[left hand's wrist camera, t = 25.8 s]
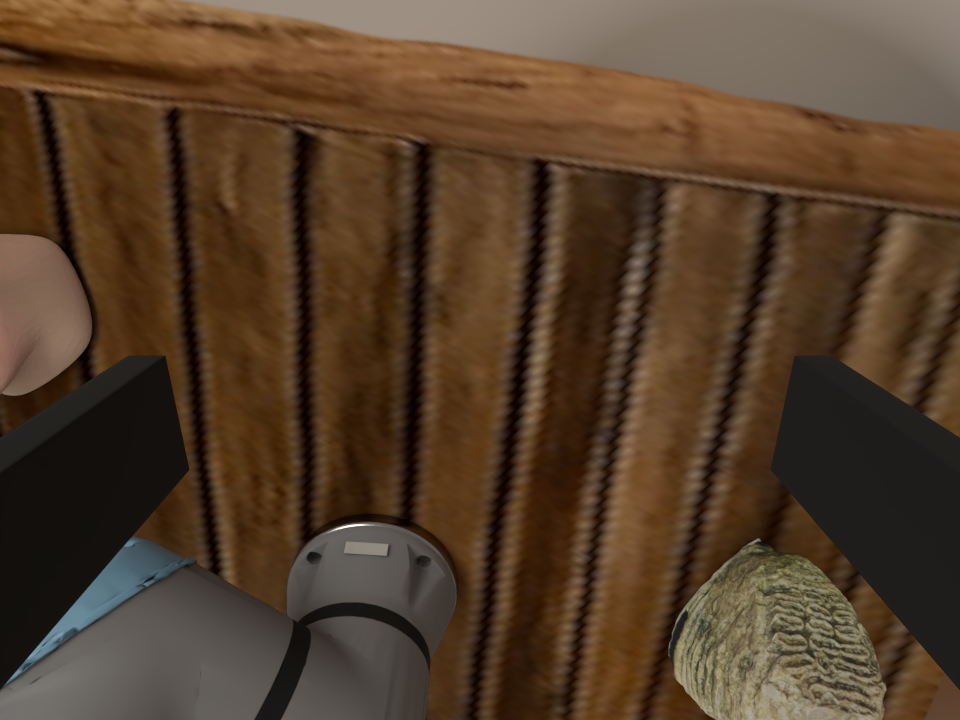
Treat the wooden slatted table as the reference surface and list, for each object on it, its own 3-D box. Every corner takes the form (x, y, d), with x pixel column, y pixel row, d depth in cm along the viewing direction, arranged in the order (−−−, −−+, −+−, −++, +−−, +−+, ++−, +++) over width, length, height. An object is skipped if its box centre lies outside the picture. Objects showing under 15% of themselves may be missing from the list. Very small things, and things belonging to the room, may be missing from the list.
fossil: (814, 529, 52) (936, 675, 38) (738, 677, 59) (819, 848, 45) (719, 512, 51) (808, 654, 37) (654, 664, 58) (709, 833, 44)
